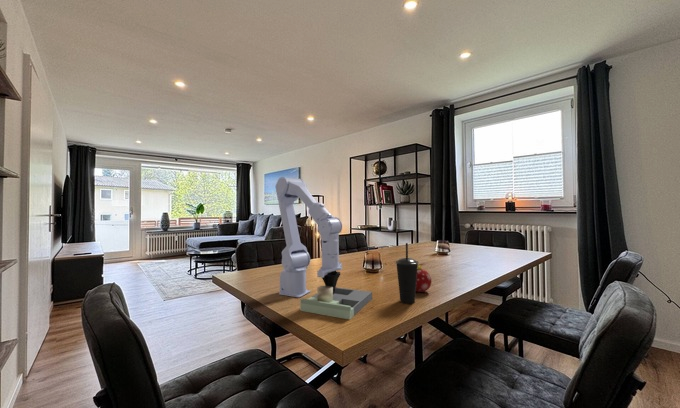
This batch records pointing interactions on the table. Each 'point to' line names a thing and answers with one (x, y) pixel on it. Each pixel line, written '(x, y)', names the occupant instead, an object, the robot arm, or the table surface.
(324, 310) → the trap deck
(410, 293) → the drinking cup
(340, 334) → the table surface
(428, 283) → the christmas ornament
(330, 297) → the beige rounded cylinder
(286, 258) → the robot arm
